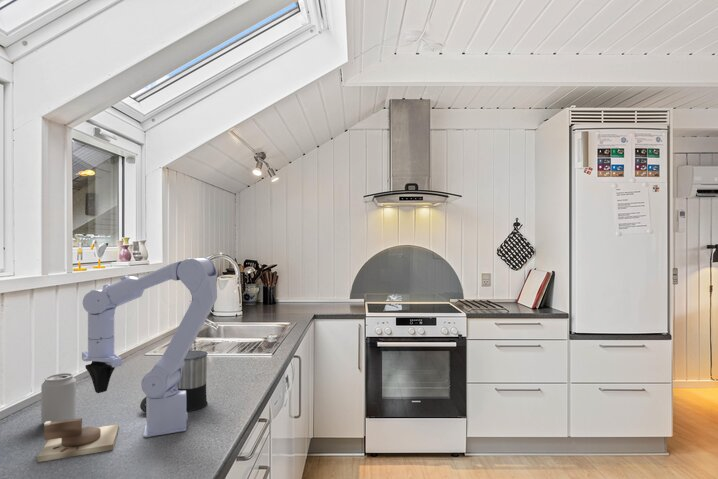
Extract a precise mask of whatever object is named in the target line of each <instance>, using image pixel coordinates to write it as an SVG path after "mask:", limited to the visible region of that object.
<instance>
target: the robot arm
mask: <svg viewBox="0 0 718 479" xmlns="http://www.w3.org/2000/svg"><path fill="white" fill-rule="evenodd" d="M218 274H219V271H218V270H217V267H216V265H215V263H214V261H212V260H211V259H210V258H208V257H206V256H203V257H202V256H201V257H198V258H197V257H196V258H190V257H188V258H185V259H183V260H180V261H175V262H173V263H172V262H171V263H169V264H167V265H165V266H163V267H160V268H159V269H156V270H154V271H151V272H150V273H147V274H145V275H143V276H141V277H137V276H133V275H131V276H128V275H124V276H122V277H120V280H118V281H116V282H114V283H111V284H109V283H106V284H103V285H102V287H103V288H101V289H91V290H90V291H89V292H87V293H86V294H85V295H84V297H83V299H82V307H83V309H84V310H85V311H86V312H87V350H86V351H81V360H82V361H83V362H90V363H89V364H86V365H84V366H85V369H86V370H87V372H88V374H89V375H90V378H91V382H92V384H93V388H94V391H95V393H96V394H101V393H104V392H107V390H108V387H109V383H110V380H111V377H112V374H113V372H114V371H115V368H117V367H120V366H121V367H122V366H123V364H122V363H123V362H122V360H123V359H122V357H120V356H118V354H116V353H115V314H116V309H117V307H119V306H122V305H124V304H126V303H129V302H131V301H133V300H136V299H138V298H141V297H143V293H144V292H145V290H146V289H149V288H152V287H154V286H158V285H161V284H163V283H166V282H168V281H170V280H171V281H176V282H177V281H181V283H183V285H184V286H185V287H186V288H187V290H188V291H189V292H190V295H191V297H192V301H191V302H190V304H189V307H187V308H188V309H187V310H186V312H185V314H184V316H183V317H182V319H181V322H180V323H179V325H178V327H177V329H176V330H175V333H174V335H173V336H172V338H171V340H170V342H169V343H168V346H166V349H165V351H164V352H163V354H162V356H161V357H160V358H159V359H158V361H157V362H155V364H154V366H153V367H152V369H151V370H150V371H149V372H147V373H146V374H144V376H143V377H142V379H141V382H140V385H141V390H142V392H143V393H144V394H145V395H146V396H145V397H146V404H145V405H146V413H145V414H146V415H145V416H146V419H145V420H146V422H145V424H144V431H143V432H144V433H143V438H149V437H155V436H156V437H157V436H161V435H168V434H174V433H181V432H186V431H187V421H188V419H189V417H188V416H189V415H188V414H189V413H188V412H189V411H186V391H185V390H184V391H179V390H178V387H177V383H178V382H179V381H180V379H181V377H182V368H183V366H184V364H185V362H184V359H185V357H186V355H187V353H188V351H191V348H192V346H193V344H194V342H195V340H196V338H197V337H198V335H199V333H200V331H201V329H202V328H203V325H204V323H205V322H206V320H207V318H208V316H209V314H210V313H211V310H212V309H213V307H214V306H215V303H216V301H217V299H218V298H217V297H218V286H217V278H218Z"/></svg>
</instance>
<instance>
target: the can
mask: <svg viewBox="0 0 718 479" xmlns="http://www.w3.org/2000/svg"><path fill="white" fill-rule="evenodd" d="M40 392H41V396H40V397H41V400H40V402H41V403H40V404H41V406H40V407H41V408H40V410H41V412H40V414H41V416H40V420H41V421H40V422H41V423H42V424H43V425H44V423H45V422H46V421H51V422H56V421H63V420H71V419H75V417H76V416H77V379H76V378H75V377H74V374H73V373H71V372H61V373H55V374H52V375H48V376H45V378H44V381H43V382H42V383H41V391H40Z"/></svg>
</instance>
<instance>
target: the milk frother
mask: <svg viewBox="0 0 718 479" xmlns="http://www.w3.org/2000/svg"><path fill="white" fill-rule="evenodd" d="M207 358H208V352H207V351H205V350H189V351H188V353H187V355H186V357H185V359H184V362H185V364H184V366H183V368H182V377H181V379H180V381H179V382H178V383H177V387H178V390H179V391H184V390H185V391H186V412H191V411H192V412H193V411H198V410H200V409H202V408H204V407H206V406H207V405H208V400H207V372H208V371H207V369H208V368H207V365H208V364H207V362H208V361H207V360H208V359H207ZM139 408H140V410H141V411H142V412H143V413H145V414H146V396H145V397H144V398H143V399H142V400H141V401H140V405H139Z"/></svg>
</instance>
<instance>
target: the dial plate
mask: <svg viewBox="0 0 718 479" xmlns="http://www.w3.org/2000/svg"><path fill="white" fill-rule="evenodd" d="M97 428H100V430H101V436H100V438H98V439H97V440H95V441H93V442H91V443H88V444H85V445H81V446H74V447H67V446H63V445H62V438H58V439H51V440H47V441H46V443H45V445H44V446H43V448H42V450H40V453H39V454H38V456H37V463H41V462H47V461H54V460H60V459H65V458H72V457H77V456H85V455H89V454H94V453H95V454H96V453H101V452H107V451H113V450H114V449H115V445H116V441H117V437H118V435H119V430H120V424H119V423H117V424H110V425H105V426H103V425H102V426H97Z"/></svg>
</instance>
